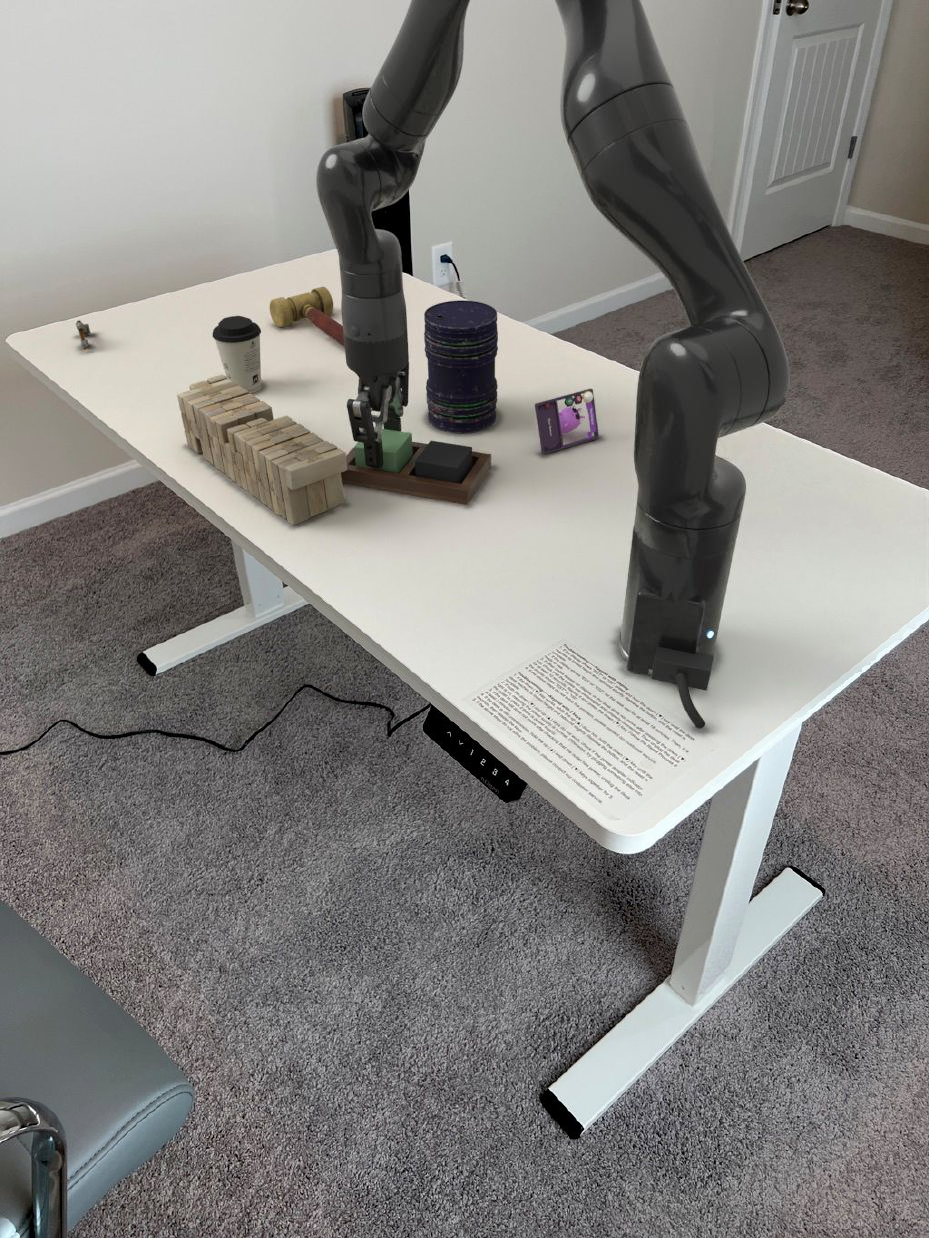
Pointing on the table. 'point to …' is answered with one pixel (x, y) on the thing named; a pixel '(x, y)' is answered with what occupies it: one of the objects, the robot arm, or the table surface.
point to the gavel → (308, 311)
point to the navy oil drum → (461, 365)
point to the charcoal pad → (444, 462)
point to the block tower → (262, 449)
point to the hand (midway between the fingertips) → (384, 454)
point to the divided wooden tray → (419, 478)
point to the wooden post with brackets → (83, 333)
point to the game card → (564, 420)
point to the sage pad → (389, 451)
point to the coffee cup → (240, 351)
